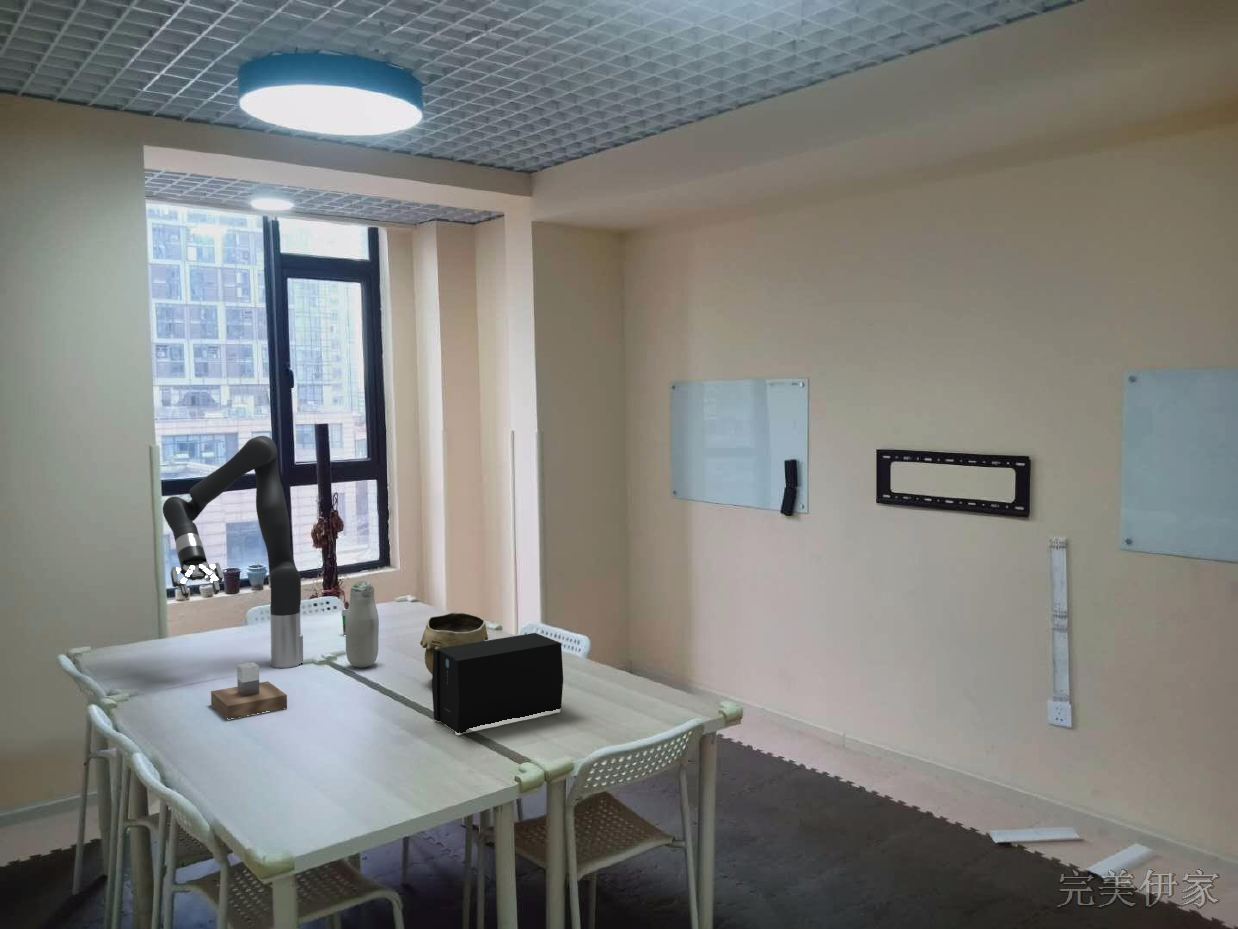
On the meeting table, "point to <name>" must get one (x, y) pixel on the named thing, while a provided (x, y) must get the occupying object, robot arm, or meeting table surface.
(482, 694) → the uninterruptible power supply
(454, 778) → the meeting table surface
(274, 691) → the walnut stand
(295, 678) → the meeting table surface
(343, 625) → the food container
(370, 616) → the grey bottle
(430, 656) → the clay pot
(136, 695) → the meeting table surface
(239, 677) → the block
